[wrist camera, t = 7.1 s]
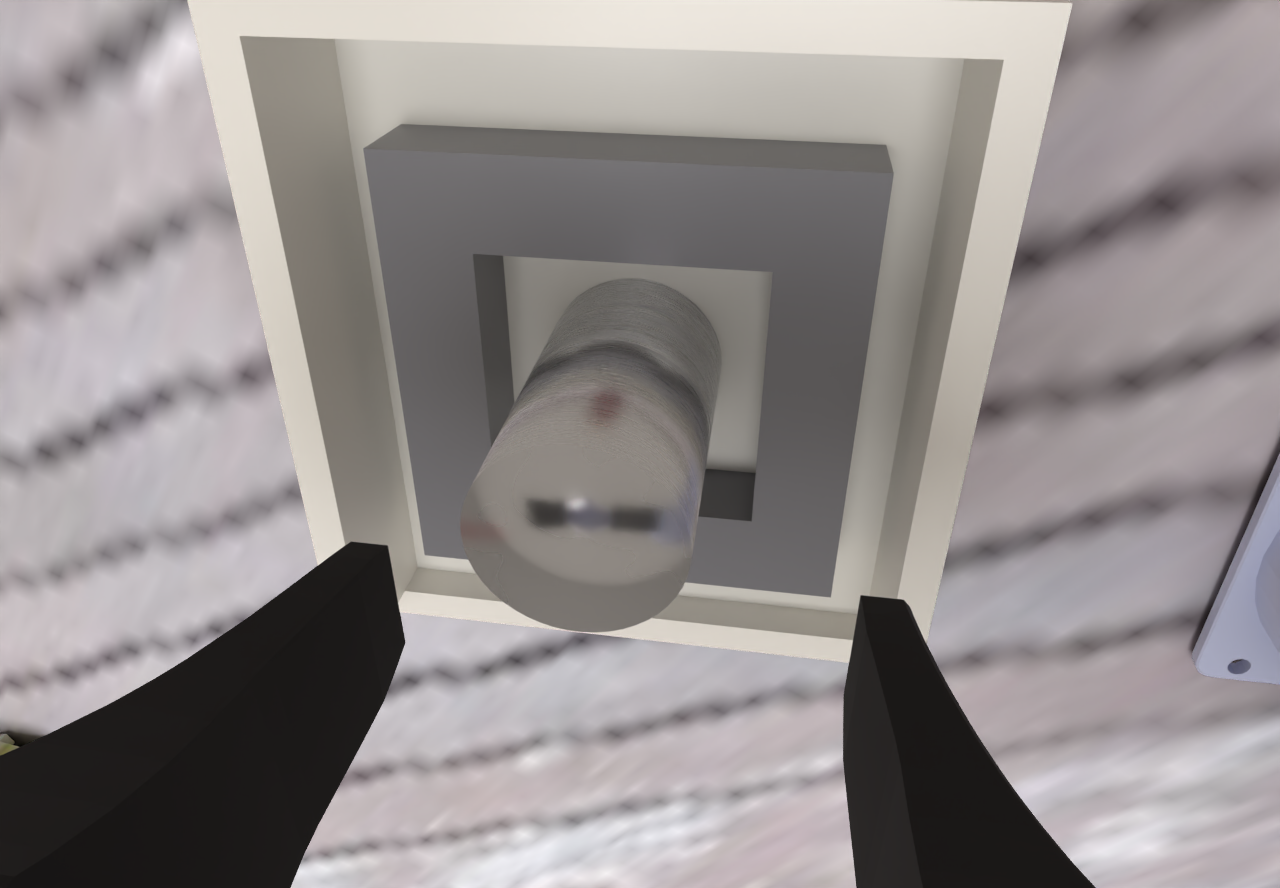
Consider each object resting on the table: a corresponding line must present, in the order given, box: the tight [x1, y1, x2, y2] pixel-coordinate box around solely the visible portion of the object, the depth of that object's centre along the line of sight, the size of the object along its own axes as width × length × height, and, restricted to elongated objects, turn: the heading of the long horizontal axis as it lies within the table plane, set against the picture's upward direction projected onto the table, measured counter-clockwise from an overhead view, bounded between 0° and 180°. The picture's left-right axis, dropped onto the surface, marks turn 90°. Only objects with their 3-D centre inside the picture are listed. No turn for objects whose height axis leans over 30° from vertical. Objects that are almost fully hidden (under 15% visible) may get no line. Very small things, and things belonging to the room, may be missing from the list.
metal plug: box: [460, 278, 722, 632], centre depth 19 cm, size 4×4×7 cm
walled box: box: [188, 0, 1072, 663], centre depth 20 cm, size 14×16×4 cm
